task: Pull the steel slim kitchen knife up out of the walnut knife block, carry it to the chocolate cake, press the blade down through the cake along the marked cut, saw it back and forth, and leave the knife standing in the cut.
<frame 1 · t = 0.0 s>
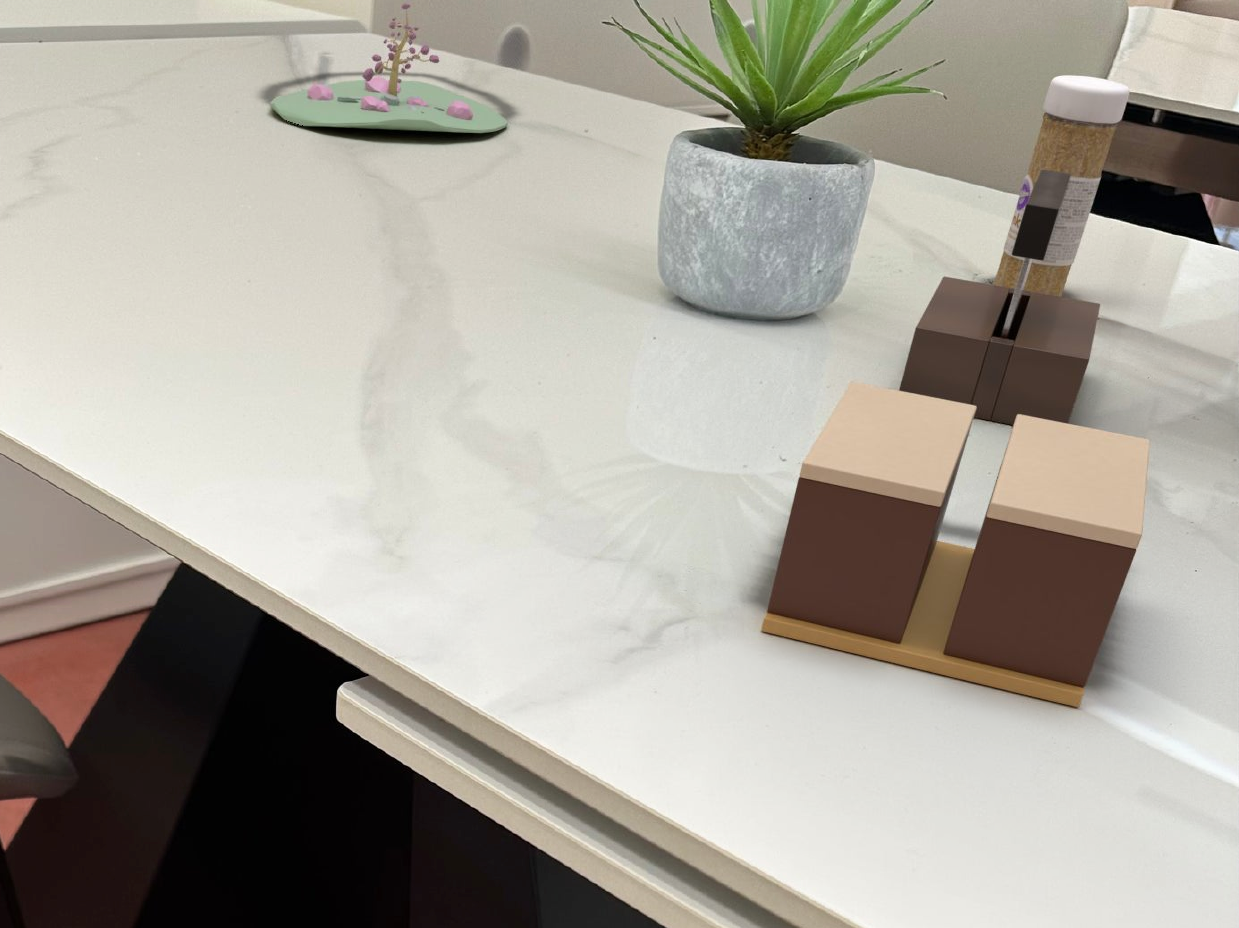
plant: (387, 115, 143), on the table
knife block: (989, 387, 91), on the table
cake: (935, 609, 67), on the table
slim kitchen knife: (1018, 291, 88), in the knife block
sprinkles bottle: (1020, 314, 105), on the table
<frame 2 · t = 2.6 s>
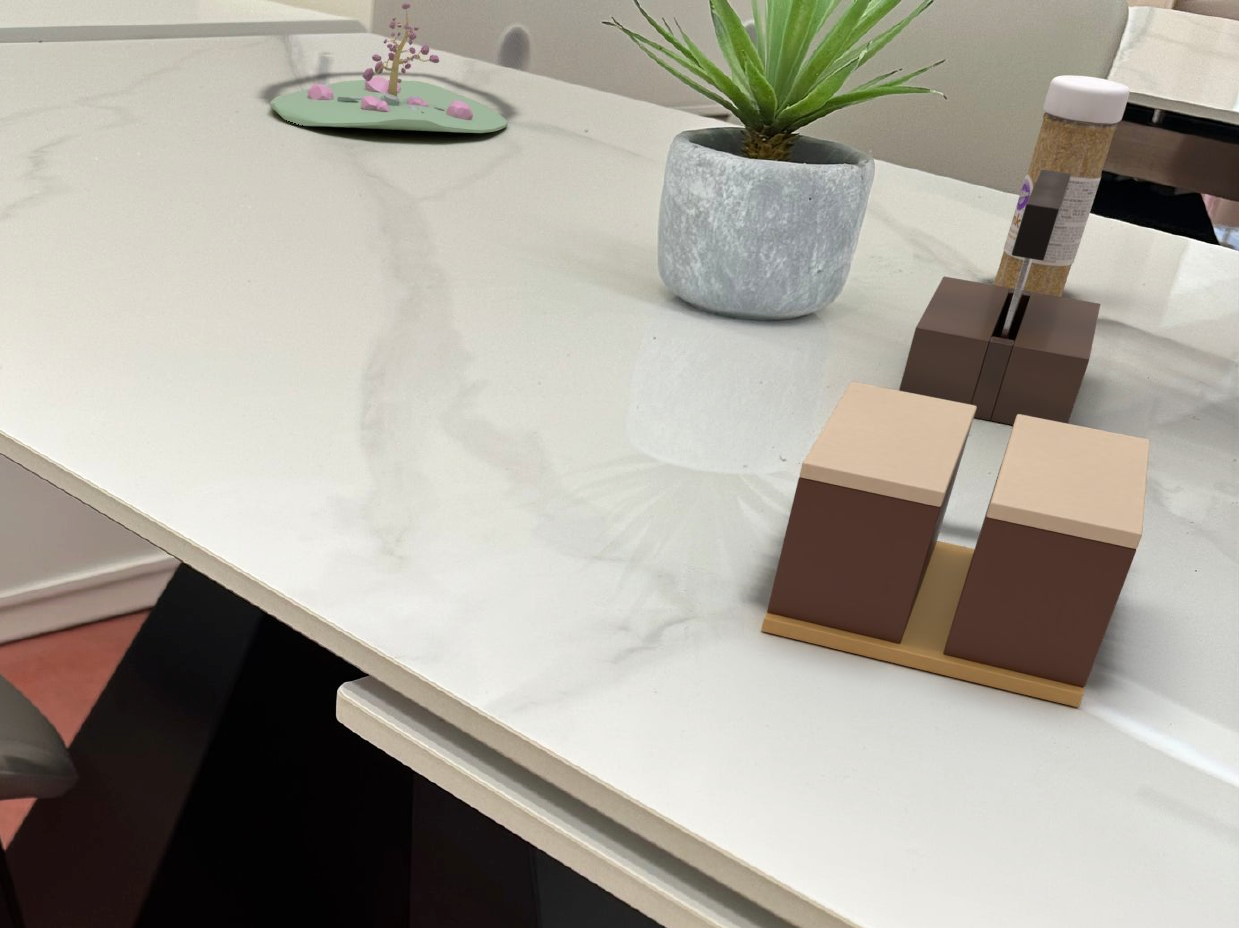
nothing on the table moved.
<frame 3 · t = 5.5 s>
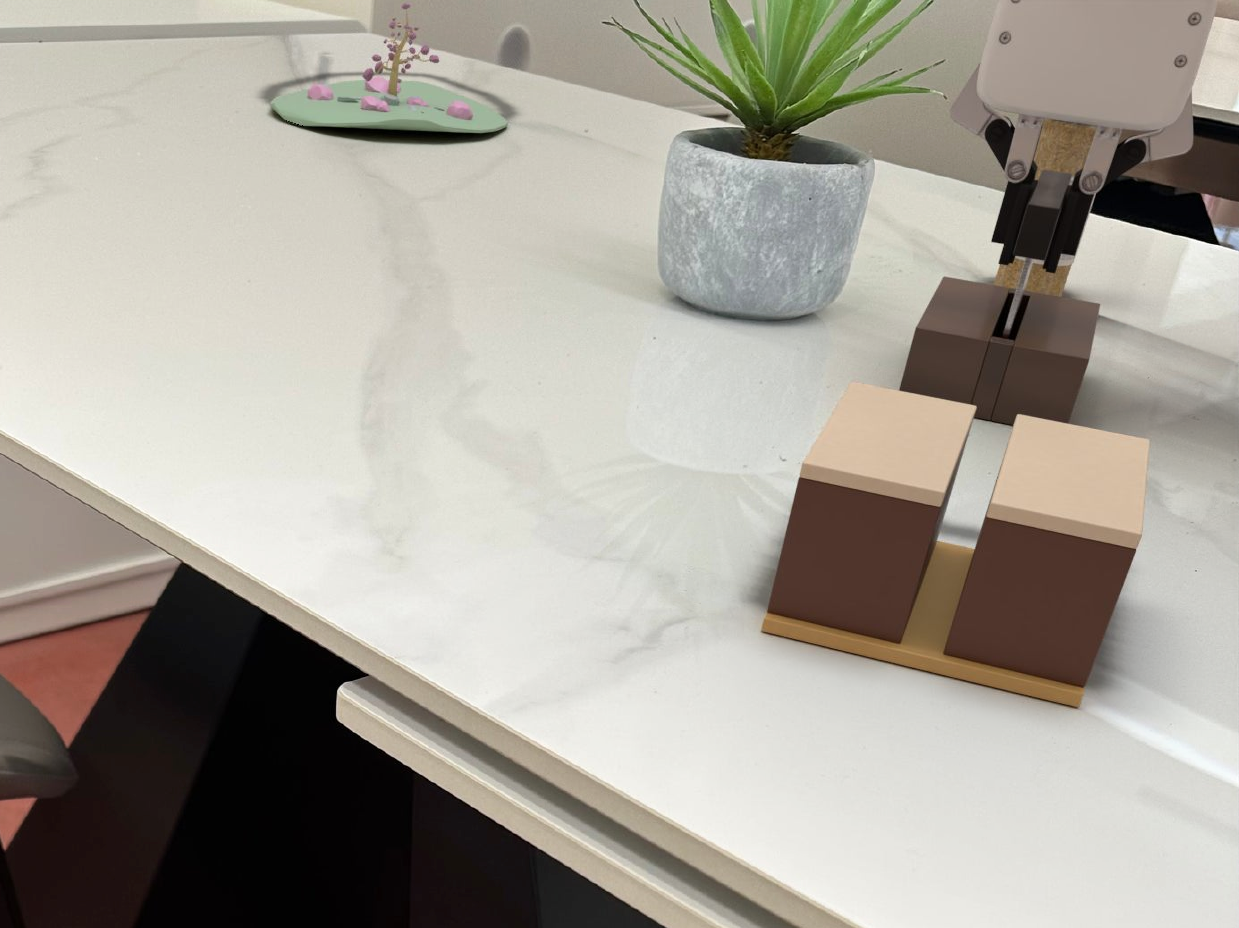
hand: (1029, 261, 87), 7 cm above the table, tool pointing down, fingers closed on slim kitchen knife, 1 cm apart
slim kitchen knife: (1020, 291, 88), in the knife block, touching gripper
everything else where it was.
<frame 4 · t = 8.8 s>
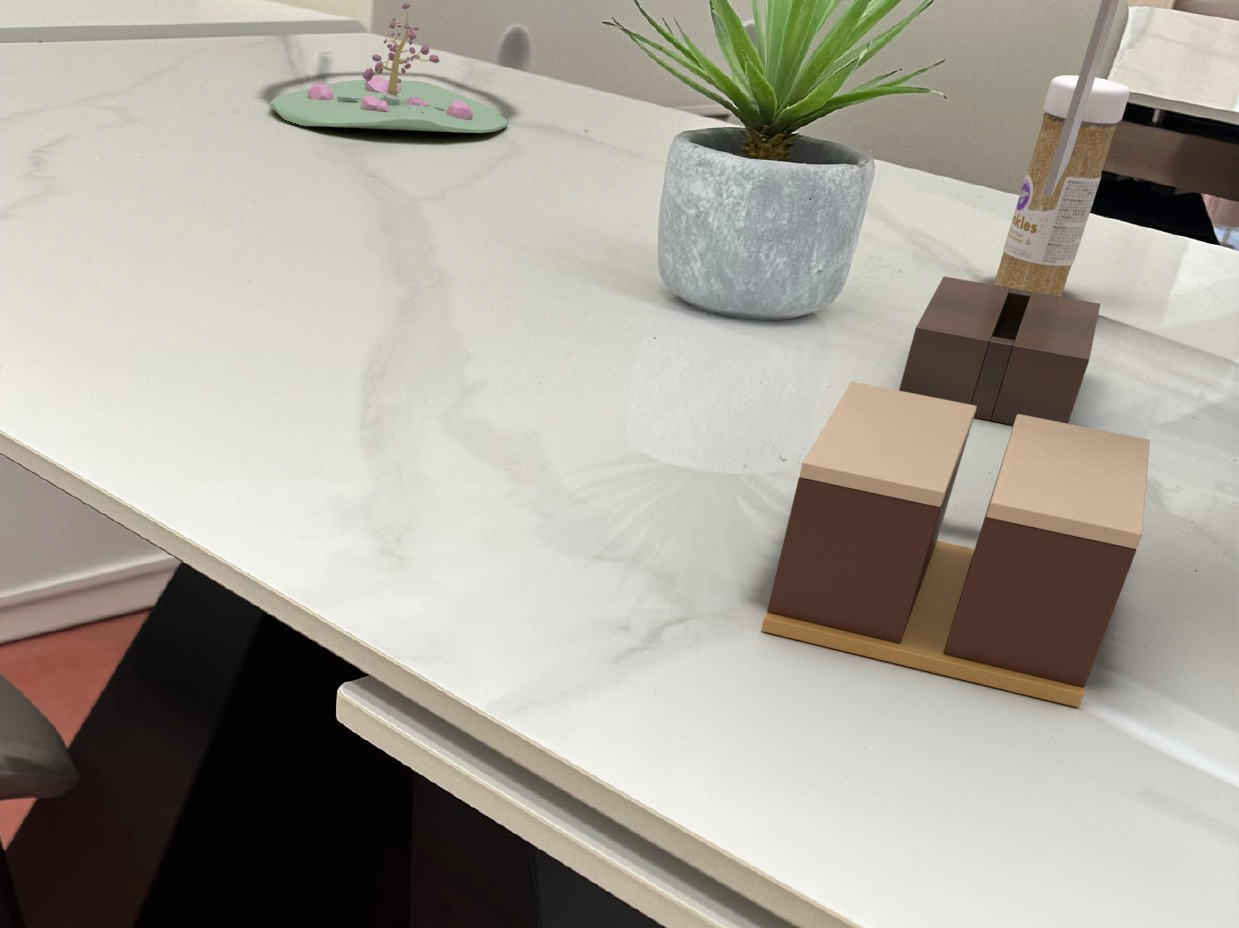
slim kitchen knife: (1103, 26, 60), point 20 cm above the table, touching gripper
everything else where it was.
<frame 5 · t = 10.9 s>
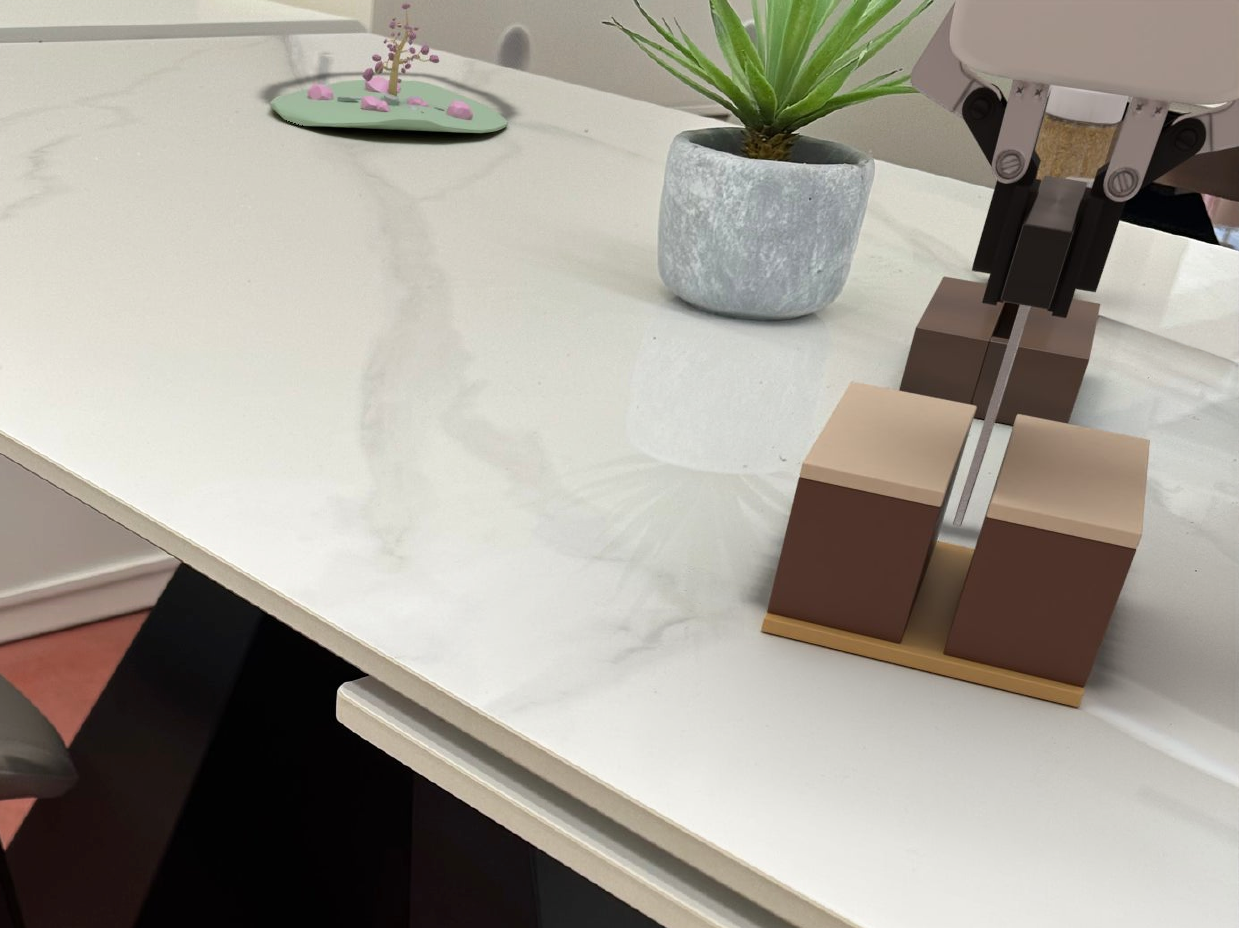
hand: (1027, 299, 59), 12 cm above the table, tool pointing down, fingers closed on slim kitchen knife
slim kitchen knife: (1011, 352, 60), point 10 cm above the table, touching gripper
everything else where it was.
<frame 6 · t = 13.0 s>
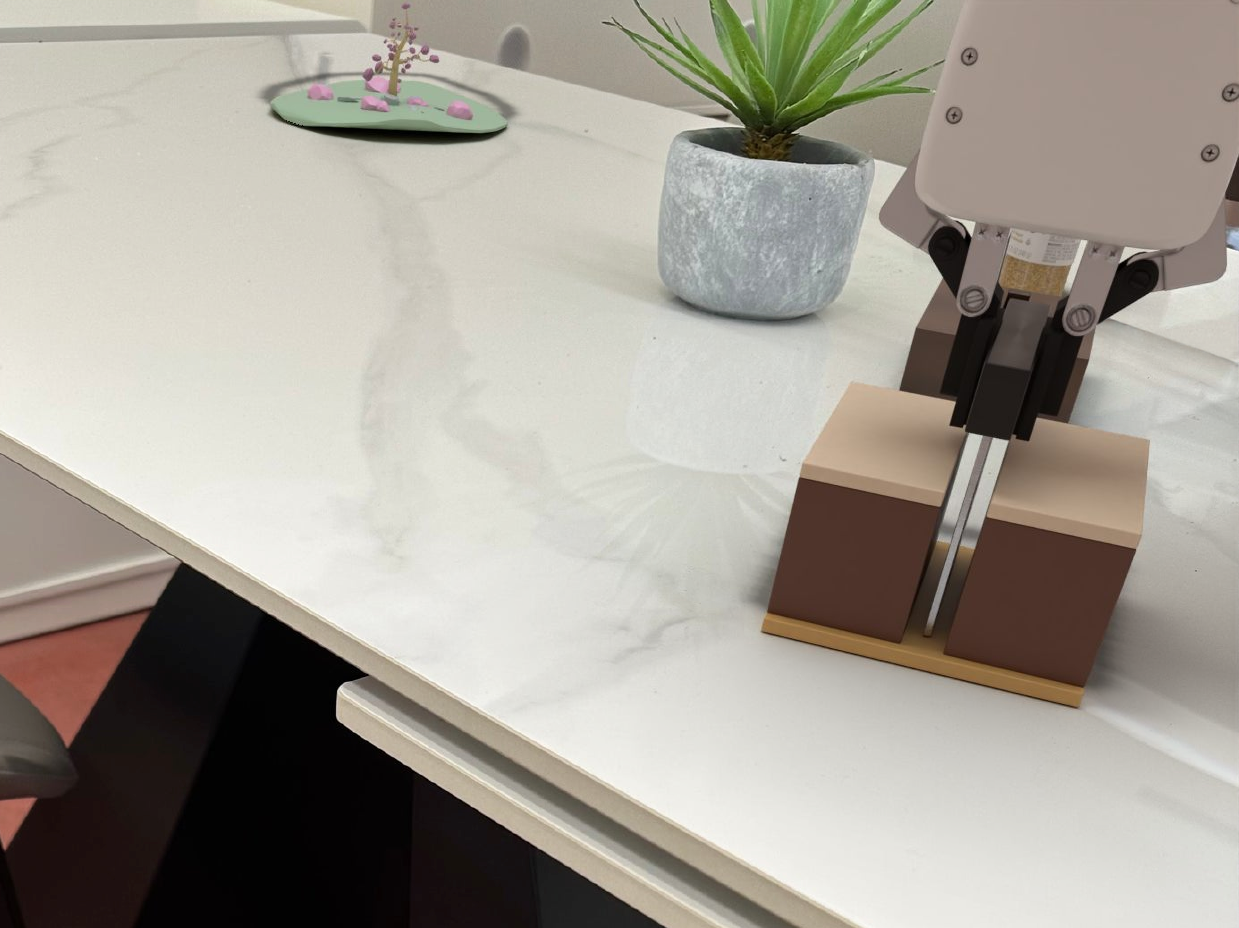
hand: (993, 420, 62), 8 cm above the table, tool pointing down, fingers closed on slim kitchen knife, 1 cm apart
slim kitchen knife: (978, 469, 63), point 6 cm above the table, touching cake, gripper
everything else where it was.
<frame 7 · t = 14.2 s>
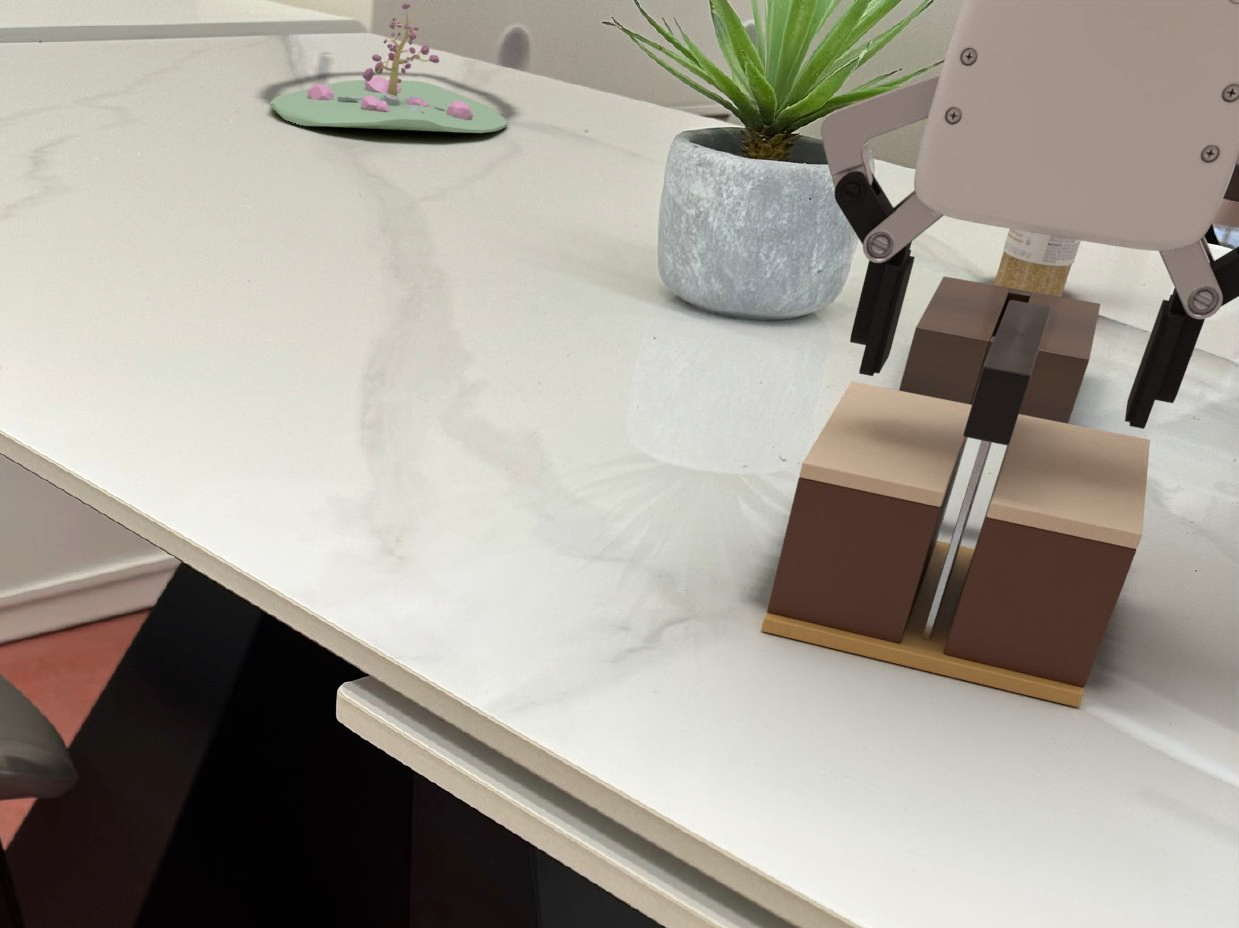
hand: (1001, 391, 61), 9 cm above the table, tool pointing down, fingers open, 9 cm apart
slim kitchen knife: (977, 472, 63), point 6 cm above the table, touching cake
everything else where it was.
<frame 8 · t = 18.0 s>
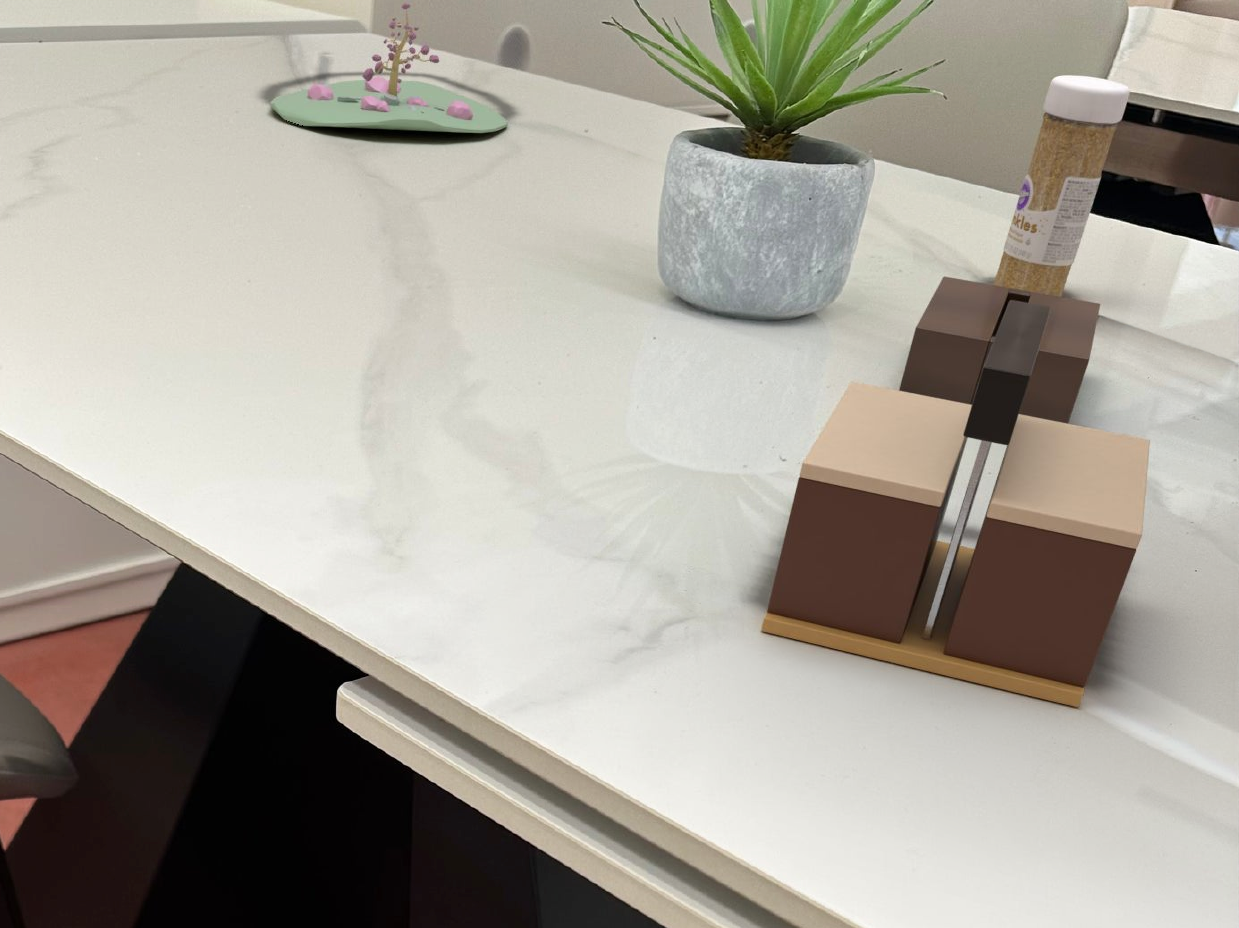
nothing on the table moved.
at the end: slim kitchen knife 0.1 cm off-centre on the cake, point 5.8 cm above the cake's base; slim kitchen knife moved 32.3 cm from its start; the gripper is holding nothing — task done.
